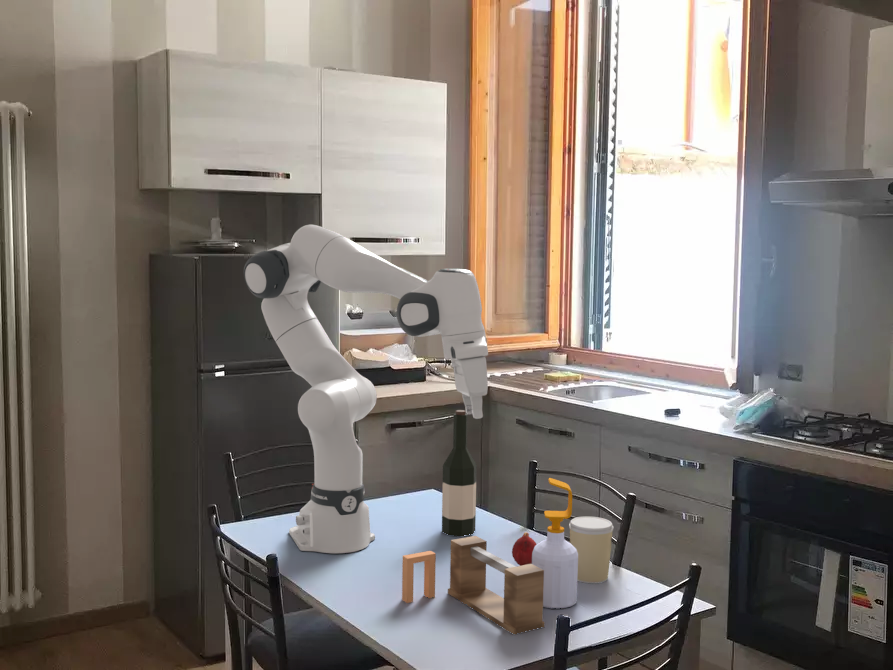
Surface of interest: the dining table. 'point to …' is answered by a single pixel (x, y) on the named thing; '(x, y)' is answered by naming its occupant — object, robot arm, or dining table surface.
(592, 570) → the coffee cup
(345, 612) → the dining table surface
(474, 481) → the wine bottle
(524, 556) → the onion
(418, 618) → the dining table surface
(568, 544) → the soap bottle
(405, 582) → the wooden arch
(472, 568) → the wooden rail stand
